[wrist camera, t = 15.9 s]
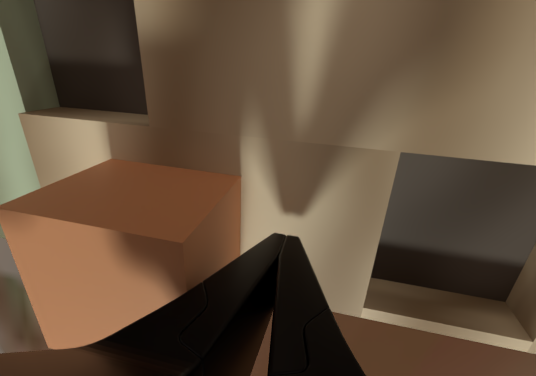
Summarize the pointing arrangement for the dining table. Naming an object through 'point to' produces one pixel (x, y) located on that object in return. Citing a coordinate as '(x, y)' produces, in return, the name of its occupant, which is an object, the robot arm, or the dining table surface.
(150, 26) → the trap board
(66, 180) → the orange block
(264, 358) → the dining table surface
